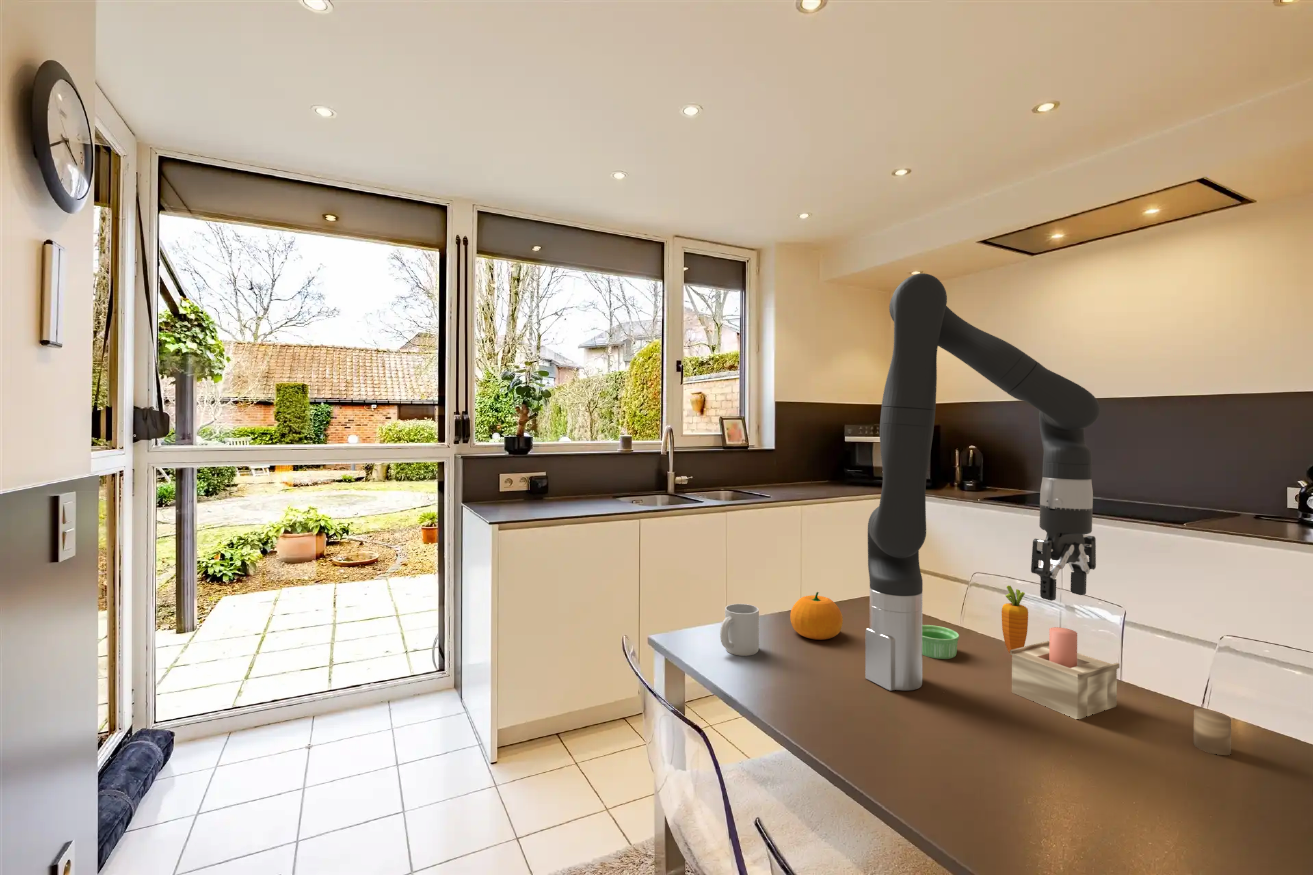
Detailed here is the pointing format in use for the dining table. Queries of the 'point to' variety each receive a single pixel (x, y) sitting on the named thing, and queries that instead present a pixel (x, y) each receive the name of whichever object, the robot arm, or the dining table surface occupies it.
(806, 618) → the fruit
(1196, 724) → the short dowel
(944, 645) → the ramekin
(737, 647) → the cup
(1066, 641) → the long dowel
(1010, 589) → the carrot
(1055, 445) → the robot arm
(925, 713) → the dining table surface
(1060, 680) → the hole block
